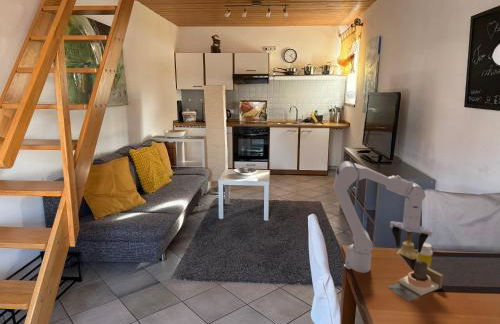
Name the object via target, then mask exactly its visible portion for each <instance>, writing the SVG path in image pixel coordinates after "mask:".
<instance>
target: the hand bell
mask: <svg viewBox="0 0 500 324" xmlns="http://www.w3.org/2000/svg"><path fill="white" fill-rule="evenodd" d="M406 233H407V234H406V239H405V241H403V242H402V244H401V247H400V248H399V249H398V250H397V251H396V254H397V255H398V254H399V255H400V256H401V255H402V256H403V257H405V258H407V259H409V260H417V251H415V250H416V249H415V244H414V243H413V242H412V233H413V232H409V231H406Z"/></svg>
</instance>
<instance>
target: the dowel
mask: <svg viewBox="0 0 500 324" xmlns="http://www.w3.org/2000/svg"><path fill="white" fill-rule="evenodd" d="M413 267H414V268H413V271H414V275H413V278H414V279H416V280H419V281H426V273H427V264H426V263H425V262H422V261H417V260H415V262H414V266H413Z"/></svg>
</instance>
